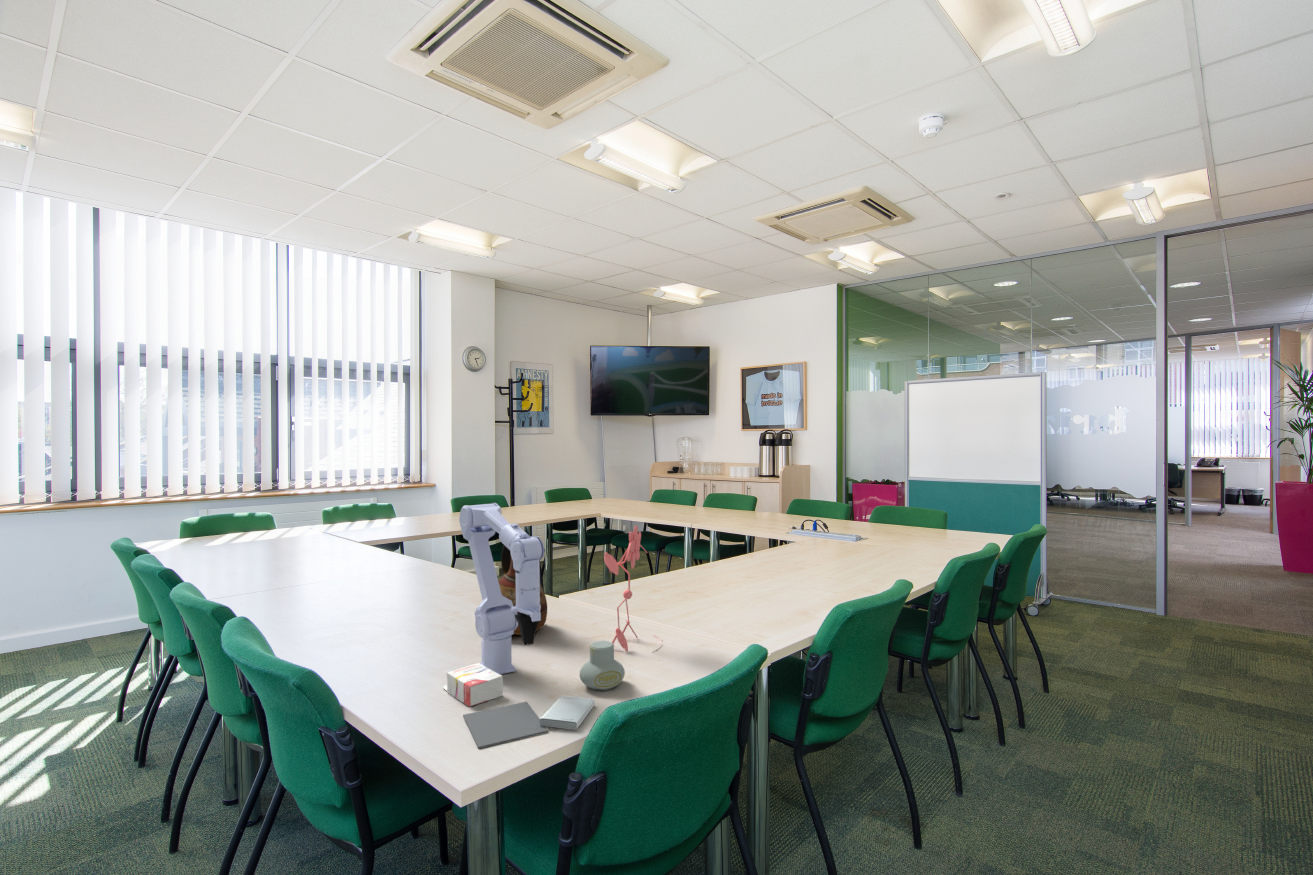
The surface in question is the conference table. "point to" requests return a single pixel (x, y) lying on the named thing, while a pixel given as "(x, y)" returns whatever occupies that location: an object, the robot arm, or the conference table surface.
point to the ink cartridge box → (474, 684)
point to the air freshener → (602, 667)
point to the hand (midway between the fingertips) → (528, 643)
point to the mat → (503, 724)
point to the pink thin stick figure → (613, 567)
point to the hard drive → (567, 712)
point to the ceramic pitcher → (509, 587)
